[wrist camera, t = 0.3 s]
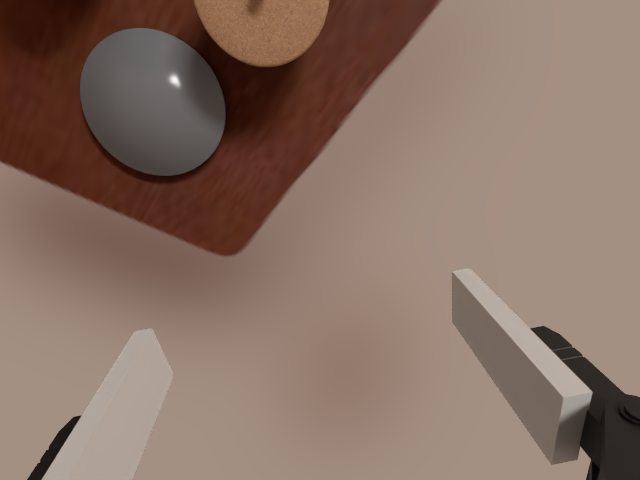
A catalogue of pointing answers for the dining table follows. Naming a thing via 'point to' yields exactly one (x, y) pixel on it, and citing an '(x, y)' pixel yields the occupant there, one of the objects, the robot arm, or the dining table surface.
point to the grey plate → (152, 101)
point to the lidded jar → (263, 28)
